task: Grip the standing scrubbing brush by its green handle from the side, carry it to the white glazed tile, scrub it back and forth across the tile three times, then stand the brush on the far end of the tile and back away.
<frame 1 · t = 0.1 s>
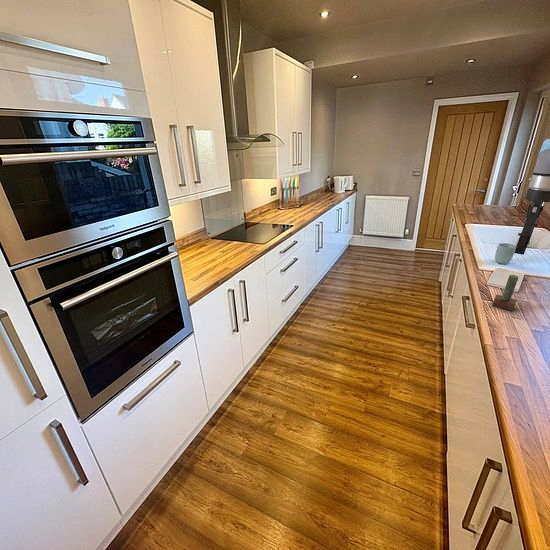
hand: (521, 248, 106), 27 cm above the counter, tool pointing down, fingers open, 13 cm apart
tile: (505, 280, 141), on the counter
brush: (503, 306, 121), on the counter
cup: (501, 262, 160), on the counter
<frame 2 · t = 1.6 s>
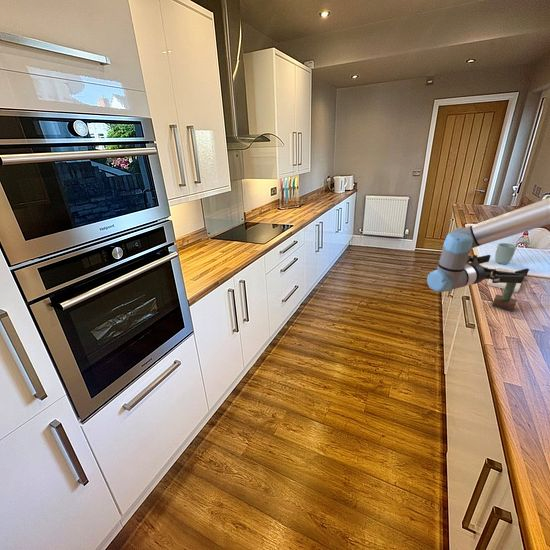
hand: (506, 264, 108), 21 cm above the counter, tool horizontal, fingers open, 13 cm apart
nothing on the counter moved.
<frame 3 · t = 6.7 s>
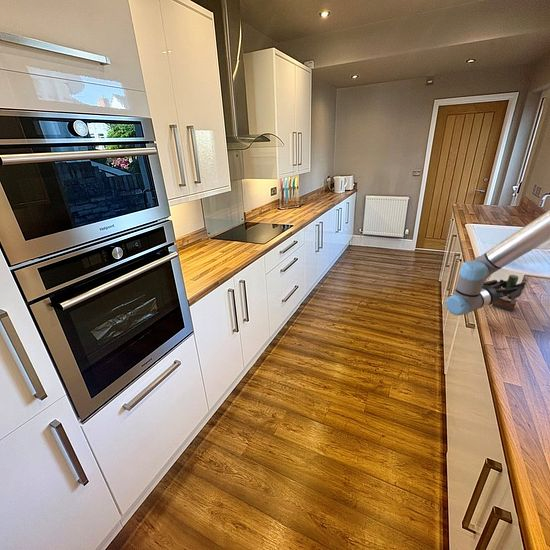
hand: (518, 283, 119), 10 cm above the counter, tool horizontal, fingers closed on brush, 3 cm apart
brush: (503, 306, 121), on the counter, touching gripper
everything else where it was.
when the fingers open (11 cm above the counter, at t = 18.9 s): brush drops 1 cm, resting on tile.
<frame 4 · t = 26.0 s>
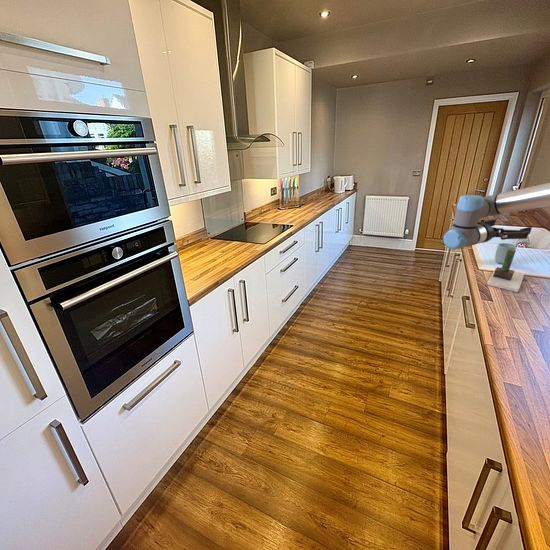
hand: (511, 226, 121), 30 cm above the counter, tool horizontal, fingers open, 13 cm apart
brush: (502, 276, 141), point 1 cm above the counter, touching tile
everything else where it was.
at the end: brush inside the target area on the tile (1.6 cm from its centre), point 1.5 cm above the tile's base; brush tilted 0°; the gripper is holding nothing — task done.
